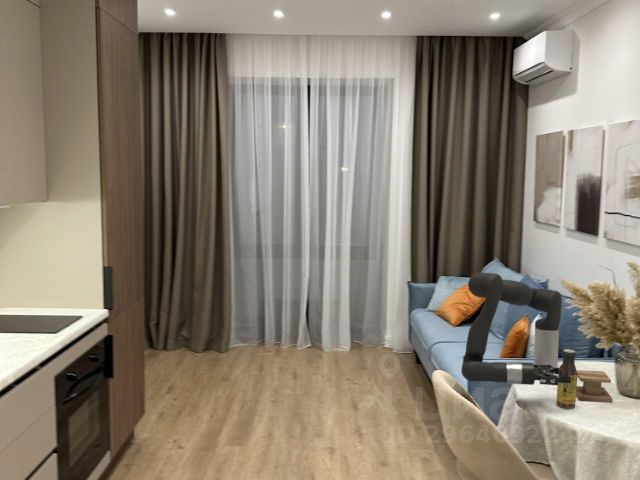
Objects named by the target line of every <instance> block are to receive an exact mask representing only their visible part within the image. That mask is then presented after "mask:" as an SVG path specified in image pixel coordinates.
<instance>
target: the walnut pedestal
mask: <svg viewBox="0 0 640 480" xmlns="http://www.w3.org/2000/svg"><path fill="white" fill-rule="evenodd" d="M576 371H577V379H578V380H579V381H580V382H582V386H579V385H577V390H576V399H577V400H578V402H595V403H597V402H598V403H609V404H610V403H613V397H612V396H611V395H610V393H609V392H608V391H607V390H606V388H605V387H602V383H604V384H605V383H606V384H611V383H612V380H611V378H610V376H608V374H606V372H605V371H603V370H602V371H601V370H585V369H584V370H583V369H576Z"/></svg>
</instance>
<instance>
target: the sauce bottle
mask: <svg viewBox="0 0 640 480" xmlns="http://www.w3.org/2000/svg"><path fill="white" fill-rule="evenodd" d="M576 353H577V352H576V350H573V349H569V348H568V349H567V348H565V349H563V350H562V354H563V357H562V363H561V365H560V366H559V367H558V368H559V374H557V376H570V377H571V383H559V384H558V385H556V386H557V388H556V405H557V407H560V408H564V409H574V408H575V406H576V402H577V396H576V390H577V386H578V377H577V371H576V370H577V367H576V364H575V363H576V362H575V359H576V356H577V355H576Z"/></svg>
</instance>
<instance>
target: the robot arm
mask: <svg viewBox="0 0 640 480" xmlns="http://www.w3.org/2000/svg"><path fill="white" fill-rule="evenodd" d="M467 284H468V285H467V286H468V290H469V291H470V293H471V294H472V295H473V296H475V297H477V298H482V299H483V298H484V299H485V302H484V305H483V308H482V310H481V311H480V313H479V315H478V316H477V317H476V318H475V320H473V322H472V324H471V325H470V328H469V330H468V333H467V339H466V345H465V352H464V356H463V361H462V365H461V376H462V377H463V378H464V379H466V380H467V381H469V382H493V383H504V384H506V383H507V384H511V385H528V386H529V385H530V386H531V385H532V386H533V385H535V382H536V381H539V384H540V385H545V386H546V385H547V386H558V384H559V383H571V377H570V376H558V375H559V368H560V367H559V366H558V361H559V337H560V336H559V333H560V331H559V330H560V329H559V328H560V323H561V319H562V318H561V317H562V307H563V298H562V297H563V296H562V294H561V293H560V291H558V290H552V289H546V288H536V287H535V288H534V287H530V286H529V285H528V284H527V283H524V282H521V281H518V280H512V279H503V278H502V276H501V275H500V274H498V273H491V272H476V273H474V274H473V275H471V276H470V277H469V279H468V282H467ZM500 301H501V302H503V303H506V304H509V305H514V306H518V307H524V306H527V307H529V308H531V309H533V310H536V311H539V312H544V313H546V316H545V317H544V318H539V319H536V320H535V322H534V348H533V349H534V351H533V352H534V353H533V354H534V355H533V362H518V361H516V362H515V361H511V362H510V361H509V362H501V361H500V362H499V361H497V362H496V361H495V362H487V361H483V360H484V356H485V354H486V350H487V346H488V345H487V344H488V339H489V335H490V330H491V327H492V323H493V320H494V317H495V314H496V312H497V309H498V306H499V303H500Z"/></svg>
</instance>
